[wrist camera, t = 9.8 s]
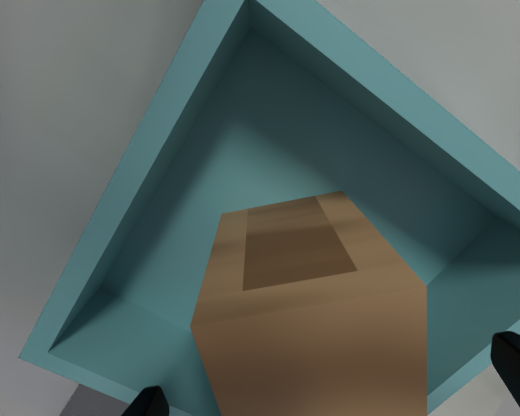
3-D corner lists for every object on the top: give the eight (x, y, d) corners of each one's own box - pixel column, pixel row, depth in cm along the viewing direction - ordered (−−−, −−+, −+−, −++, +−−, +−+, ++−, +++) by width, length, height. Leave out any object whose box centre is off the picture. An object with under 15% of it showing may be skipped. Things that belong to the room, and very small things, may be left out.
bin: (315, 391, 19) (335, 489, 14) (88, 279, 16) (18, 357, 11) (505, 204, 15) (622, 257, 10) (244, -1, 12) (237, -65, 7)
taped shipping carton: (352, 291, 15) (427, 443, 9) (247, 309, 15) (240, 469, 9) (342, 190, 13) (426, 285, 7) (221, 213, 14) (190, 326, 7)
